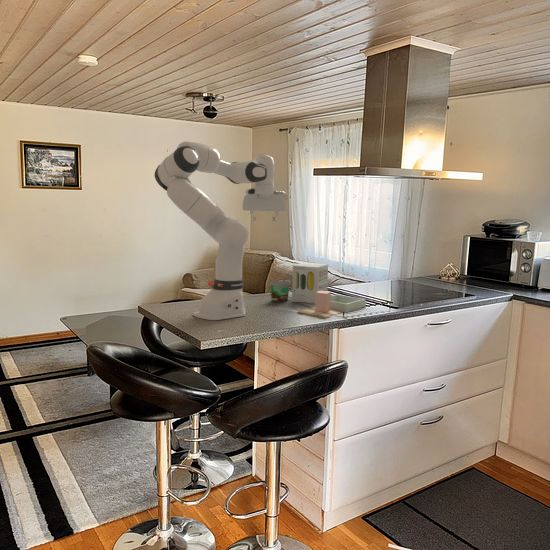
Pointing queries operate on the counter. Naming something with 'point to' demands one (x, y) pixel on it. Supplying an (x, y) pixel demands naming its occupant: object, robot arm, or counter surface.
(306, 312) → the pad
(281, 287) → the food container
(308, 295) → the supplement box
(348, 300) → the bin
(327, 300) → the block
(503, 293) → the counter surface
